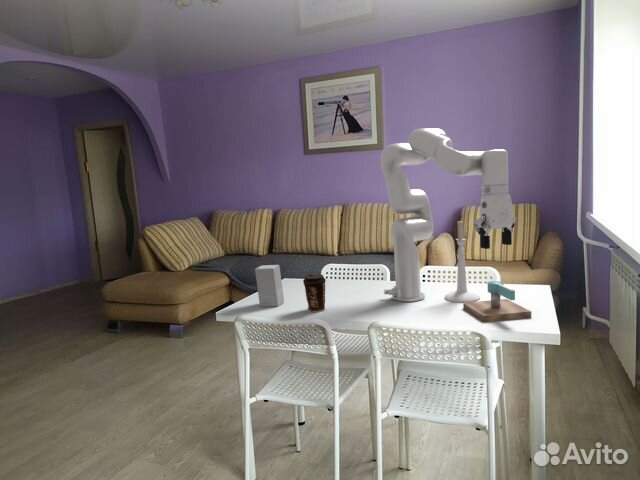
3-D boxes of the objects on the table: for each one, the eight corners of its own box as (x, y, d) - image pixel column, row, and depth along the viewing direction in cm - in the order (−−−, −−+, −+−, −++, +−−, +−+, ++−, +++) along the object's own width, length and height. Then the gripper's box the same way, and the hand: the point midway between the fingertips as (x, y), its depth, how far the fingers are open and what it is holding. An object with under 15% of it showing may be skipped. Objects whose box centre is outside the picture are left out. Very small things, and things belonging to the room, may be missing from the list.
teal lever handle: (485, 290, 157) (484, 281, 157) (499, 289, 158) (498, 280, 157) (505, 300, 143) (505, 290, 143) (520, 299, 144) (520, 289, 144)
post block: (483, 321, 147) (483, 300, 146) (463, 308, 163) (462, 289, 162) (531, 317, 149) (531, 296, 148) (506, 304, 165) (506, 285, 164)
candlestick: (470, 304, 167) (468, 222, 164) (438, 299, 176) (436, 221, 172) (485, 296, 177) (484, 218, 173) (454, 292, 185) (452, 218, 182)
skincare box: (284, 302, 186) (281, 264, 184) (277, 307, 180) (274, 267, 178) (265, 302, 189) (262, 264, 187) (257, 306, 183) (254, 267, 181)
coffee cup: (306, 307, 178) (303, 274, 176) (327, 306, 177) (325, 272, 176) (304, 313, 169) (302, 279, 167) (327, 312, 169) (325, 277, 167)
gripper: (484, 192, 133) (485, 251, 135) (524, 188, 141) (525, 244, 144) (465, 192, 140) (466, 248, 142) (504, 189, 148) (505, 242, 150)
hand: (496, 246), depth 143 cm, fingers open, 9 cm apart
